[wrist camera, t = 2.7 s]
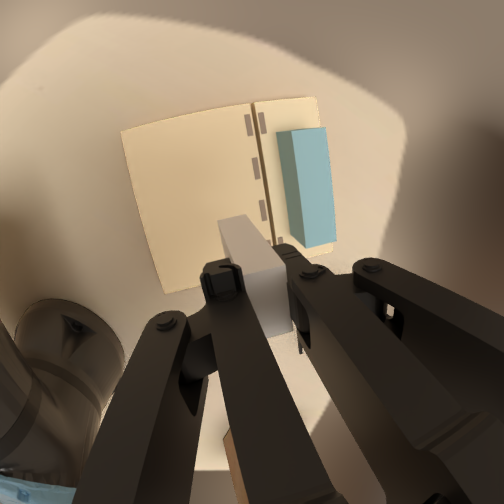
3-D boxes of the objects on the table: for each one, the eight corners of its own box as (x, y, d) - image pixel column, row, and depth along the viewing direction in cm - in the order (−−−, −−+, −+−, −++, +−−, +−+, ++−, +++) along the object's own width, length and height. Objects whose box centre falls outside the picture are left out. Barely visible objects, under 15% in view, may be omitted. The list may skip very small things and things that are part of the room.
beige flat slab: (165, 282, 31) (164, 294, 28) (125, 132, 24) (119, 131, 22) (269, 257, 32) (276, 266, 30) (244, 106, 26) (250, 102, 23)
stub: (272, 256, 32) (293, 283, 26) (248, 105, 26) (266, 96, 20) (322, 243, 33) (351, 266, 27) (305, 99, 27) (336, 91, 21)
